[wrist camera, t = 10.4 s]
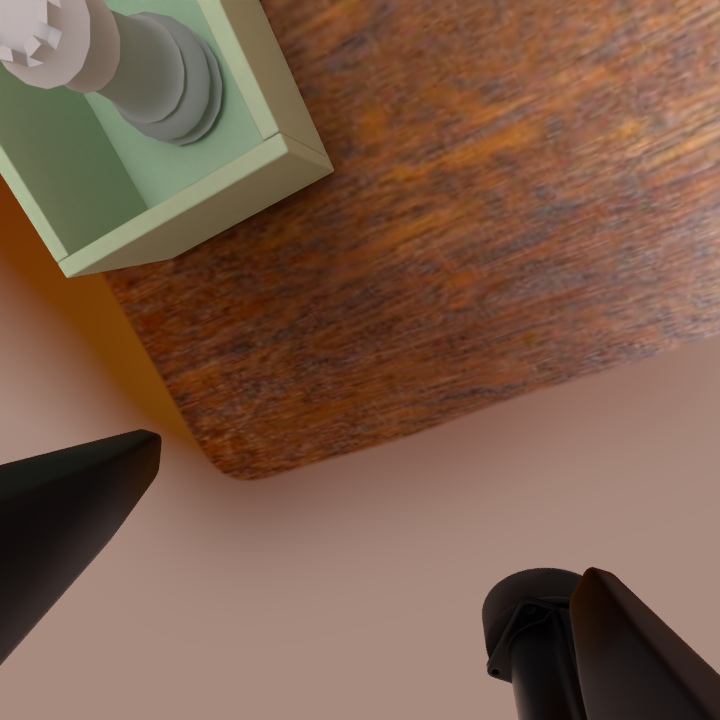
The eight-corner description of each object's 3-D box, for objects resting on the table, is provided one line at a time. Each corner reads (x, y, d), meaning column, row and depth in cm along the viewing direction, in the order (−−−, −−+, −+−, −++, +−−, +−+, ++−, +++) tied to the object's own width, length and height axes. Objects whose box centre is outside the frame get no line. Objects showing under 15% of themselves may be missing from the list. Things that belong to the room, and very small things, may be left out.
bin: (334, 171, 19) (289, 151, 13) (171, 259, 21) (66, 278, 15) (206, -121, 16) (69, -325, 10) (36, 18, 19) (-158, -77, 12)
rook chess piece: (109, 55, 18) (-115, -53, 11) (197, 2, 17) (16, -160, 10) (159, 163, 19) (-11, 134, 12) (244, 120, 18) (116, 57, 11)
